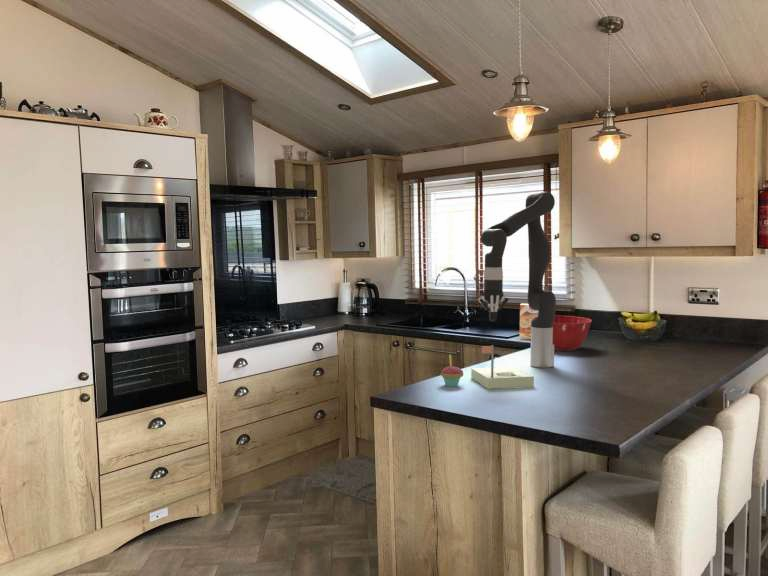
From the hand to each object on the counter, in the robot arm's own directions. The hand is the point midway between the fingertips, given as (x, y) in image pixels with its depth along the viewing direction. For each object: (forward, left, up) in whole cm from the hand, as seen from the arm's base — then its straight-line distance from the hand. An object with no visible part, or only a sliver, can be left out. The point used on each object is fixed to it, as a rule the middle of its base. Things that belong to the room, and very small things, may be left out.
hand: (492, 320), depth 256 cm
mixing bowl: (-56, -51, -22) cm, 79 cm away
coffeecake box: (-56, -85, -22) cm, 104 cm away
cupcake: (+22, +16, -22) cm, 35 cm away
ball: (+2, +19, -19) cm, 27 cm away
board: (+2, +16, -22) cm, 27 cm away
